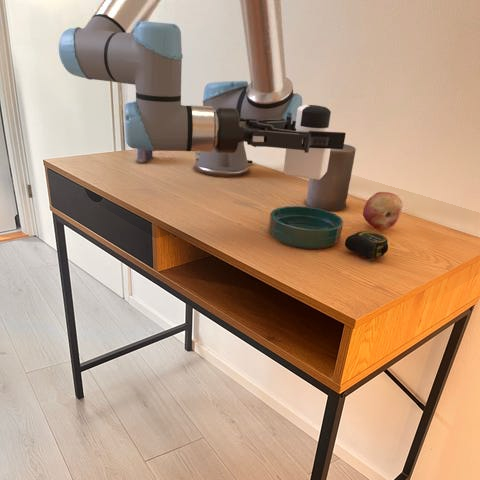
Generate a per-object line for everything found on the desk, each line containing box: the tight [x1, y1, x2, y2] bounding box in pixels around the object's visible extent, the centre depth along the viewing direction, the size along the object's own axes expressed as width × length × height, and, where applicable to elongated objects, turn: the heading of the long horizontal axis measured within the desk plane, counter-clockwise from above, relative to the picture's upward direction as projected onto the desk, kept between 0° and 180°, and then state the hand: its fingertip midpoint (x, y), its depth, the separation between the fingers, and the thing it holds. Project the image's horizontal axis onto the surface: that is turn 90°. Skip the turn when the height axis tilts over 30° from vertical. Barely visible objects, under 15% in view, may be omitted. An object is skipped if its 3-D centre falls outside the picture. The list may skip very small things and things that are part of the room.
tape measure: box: [344, 230, 389, 261], centre depth 92 cm, size 7×7×4 cm
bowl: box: [268, 205, 344, 250], centre depth 99 cm, size 14×14×4 cm
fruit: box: [362, 191, 404, 231], centre depth 105 cm, size 8×8×8 cm
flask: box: [136, 149, 154, 164], centre depth 141 cm, size 9×3×11 cm, turn 172°
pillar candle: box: [305, 143, 357, 212], centre depth 115 cm, size 10×10×15 cm
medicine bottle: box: [282, 104, 332, 180], centre depth 91 cm, size 7×7×12 cm
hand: (333, 135), depth 91 cm, fingers closed on medicine bottle, 9 cm apart
